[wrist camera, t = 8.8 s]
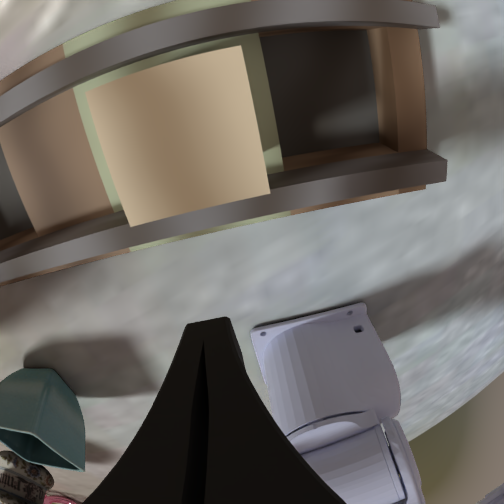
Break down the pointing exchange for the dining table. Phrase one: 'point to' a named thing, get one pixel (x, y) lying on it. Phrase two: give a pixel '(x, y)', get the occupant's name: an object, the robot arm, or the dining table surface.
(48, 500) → the pink slatted sphere
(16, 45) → the dining table surface
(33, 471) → the apothecary jar
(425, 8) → the trap box
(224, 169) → the maple block
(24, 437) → the flower pot
